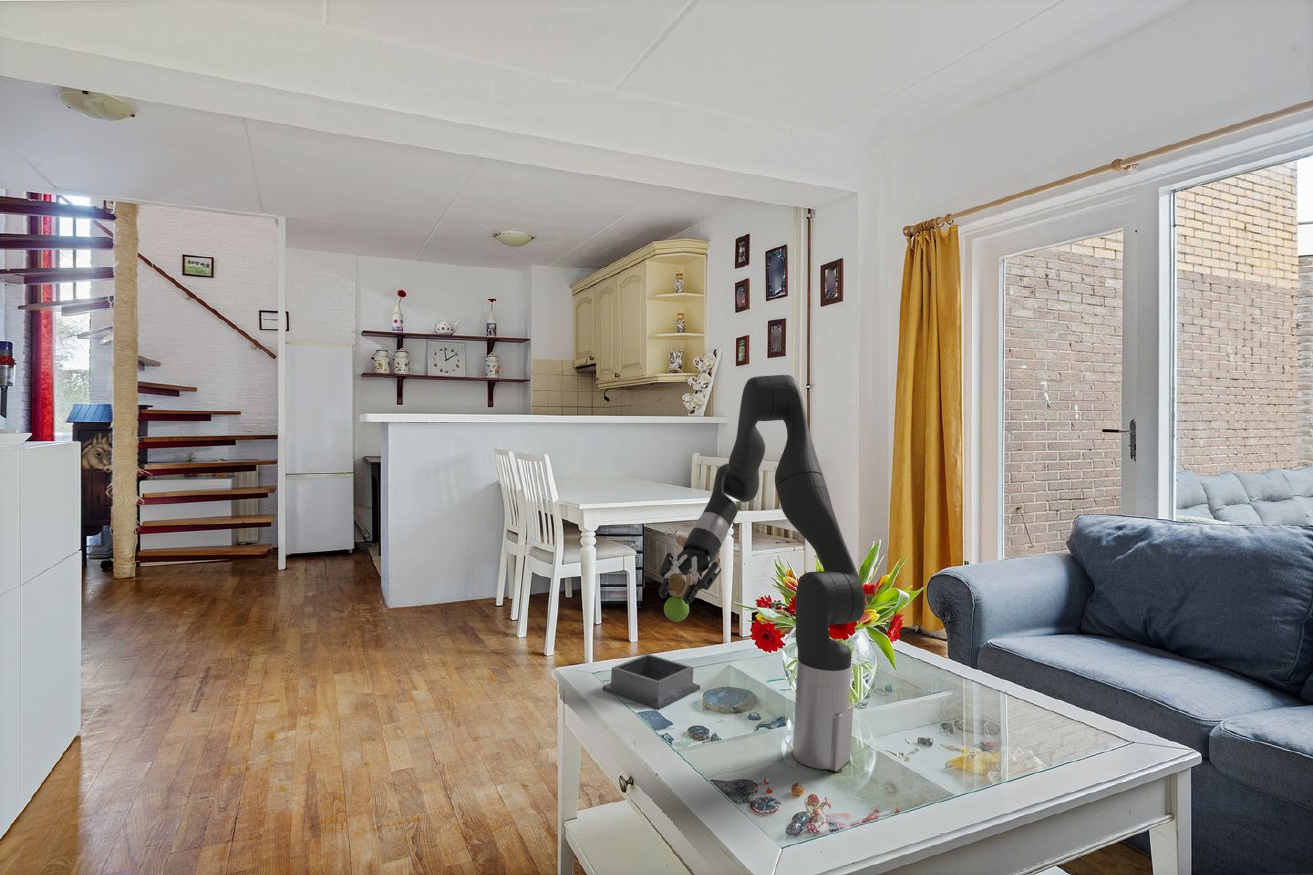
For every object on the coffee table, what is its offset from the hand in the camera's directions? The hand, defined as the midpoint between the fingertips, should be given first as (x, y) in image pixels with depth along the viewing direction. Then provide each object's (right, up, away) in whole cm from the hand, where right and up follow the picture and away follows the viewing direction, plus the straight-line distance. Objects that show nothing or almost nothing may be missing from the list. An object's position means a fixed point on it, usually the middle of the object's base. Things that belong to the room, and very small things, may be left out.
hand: (673, 598), depth 157 cm
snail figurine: (+1, -5, +2) cm, 6 cm away
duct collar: (-5, -20, +2) cm, 21 cm away
